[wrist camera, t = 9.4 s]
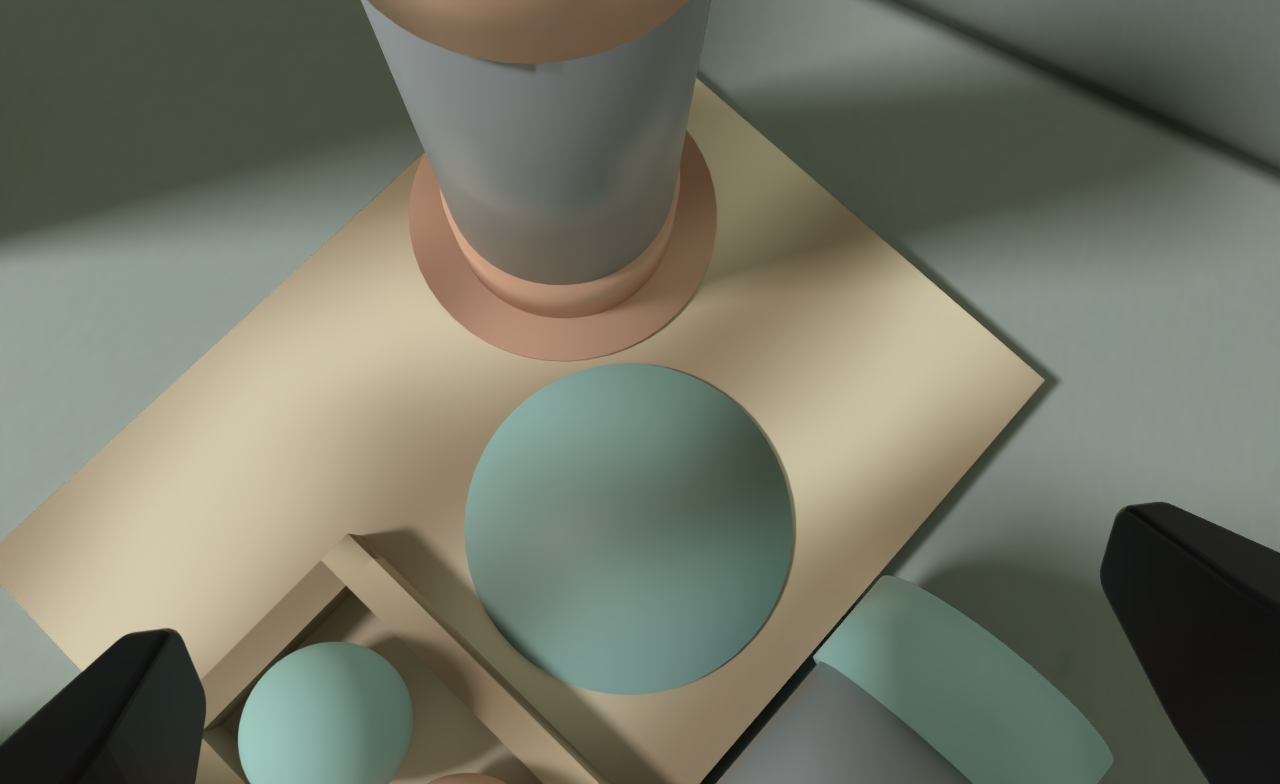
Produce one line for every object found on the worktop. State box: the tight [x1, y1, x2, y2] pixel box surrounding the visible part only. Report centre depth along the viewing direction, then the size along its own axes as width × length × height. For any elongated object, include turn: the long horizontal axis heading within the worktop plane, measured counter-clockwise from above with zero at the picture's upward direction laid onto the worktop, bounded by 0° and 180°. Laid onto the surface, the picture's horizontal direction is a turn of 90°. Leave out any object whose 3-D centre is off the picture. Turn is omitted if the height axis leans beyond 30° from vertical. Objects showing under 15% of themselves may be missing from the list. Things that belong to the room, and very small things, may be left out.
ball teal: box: [238, 642, 413, 784], centre depth 16 cm, size 3×3×3 cm
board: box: [0, 78, 1045, 784], centre depth 19 cm, size 14×18×2 cm
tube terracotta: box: [361, 0, 711, 318], centre depth 14 cm, size 5×5×12 cm
